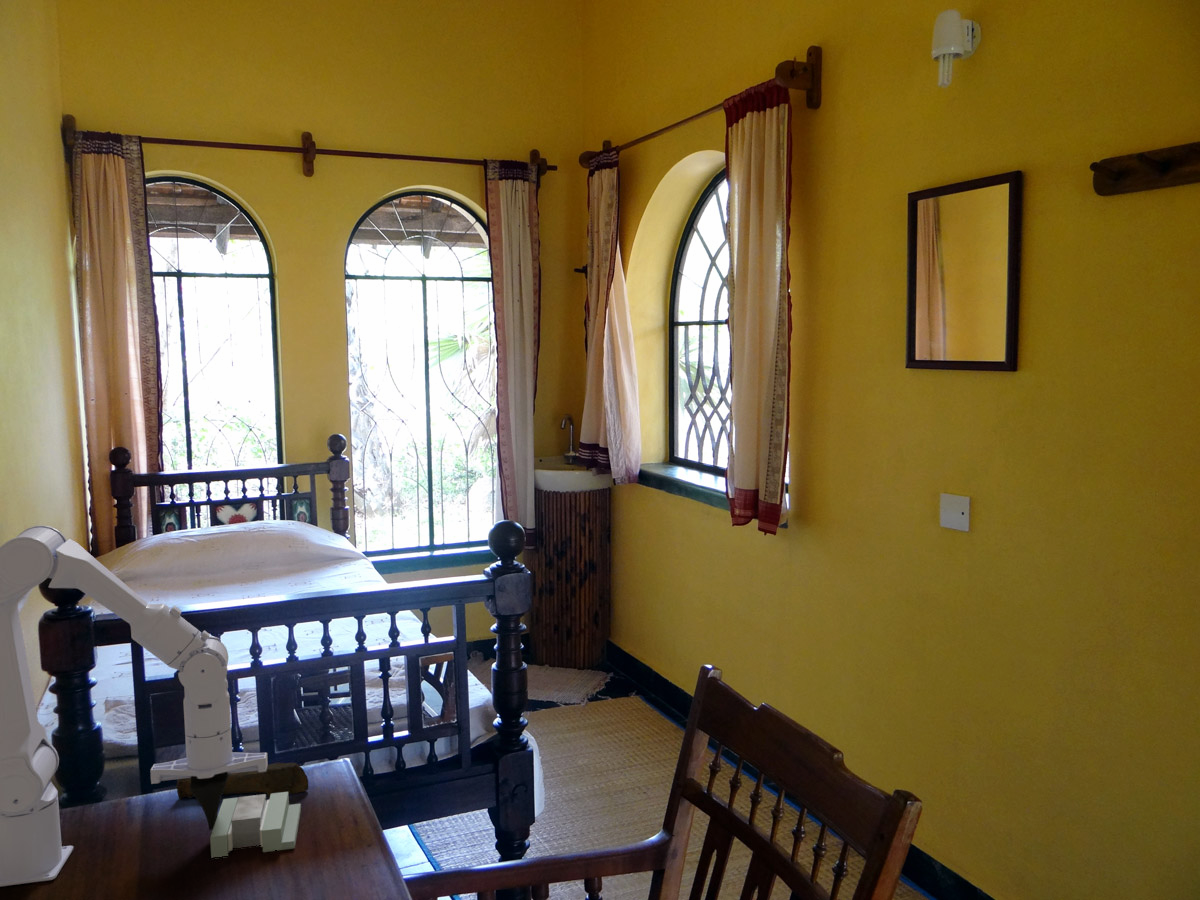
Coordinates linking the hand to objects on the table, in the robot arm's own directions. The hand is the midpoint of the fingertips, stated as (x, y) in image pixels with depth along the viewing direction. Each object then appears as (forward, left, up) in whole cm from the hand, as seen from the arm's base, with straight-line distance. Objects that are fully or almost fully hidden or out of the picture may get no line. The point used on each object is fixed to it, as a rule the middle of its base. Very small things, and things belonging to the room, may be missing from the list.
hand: (213, 826), depth 128 cm
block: (+5, 0, -2) cm, 5 cm away
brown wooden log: (+2, +14, -2) cm, 14 cm away
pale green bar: (+8, 0, -2) cm, 8 cm away
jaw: (+2, 0, -2) cm, 2 cm away
